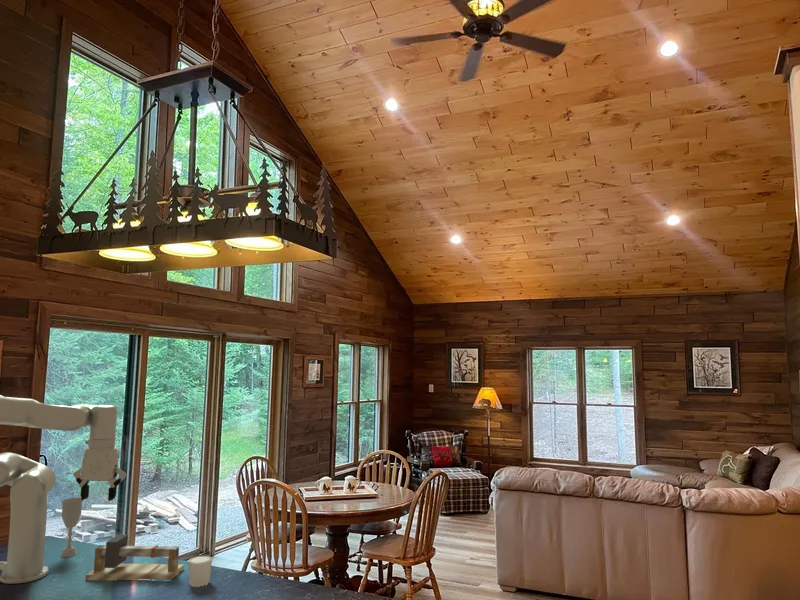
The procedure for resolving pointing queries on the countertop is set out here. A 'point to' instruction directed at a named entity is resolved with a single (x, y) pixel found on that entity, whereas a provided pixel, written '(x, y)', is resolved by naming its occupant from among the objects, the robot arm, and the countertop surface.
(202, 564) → the cream short cylinder
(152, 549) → the pipe rig
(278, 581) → the countertop surface
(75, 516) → the chalice
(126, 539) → the collar
